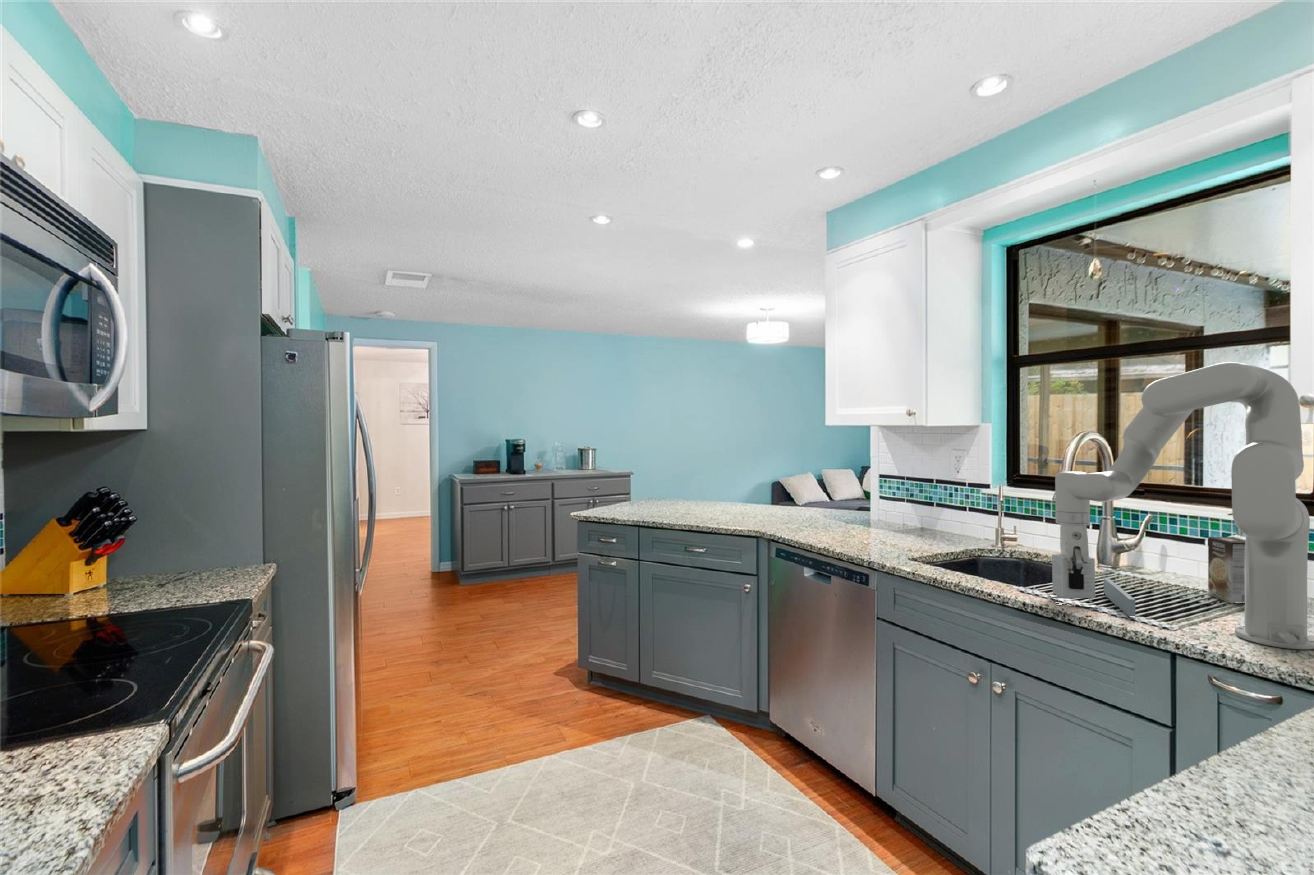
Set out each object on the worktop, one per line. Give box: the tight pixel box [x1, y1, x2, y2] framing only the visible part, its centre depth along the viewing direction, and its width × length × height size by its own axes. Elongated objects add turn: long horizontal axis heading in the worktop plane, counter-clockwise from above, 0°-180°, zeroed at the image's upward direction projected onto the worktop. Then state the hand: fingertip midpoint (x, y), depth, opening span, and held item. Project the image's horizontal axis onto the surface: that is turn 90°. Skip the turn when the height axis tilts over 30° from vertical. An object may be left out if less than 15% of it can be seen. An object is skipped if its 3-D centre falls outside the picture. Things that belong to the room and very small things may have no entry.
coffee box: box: [1207, 536, 1245, 604], centre depth 165 cm, size 9×6×16 cm
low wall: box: [1103, 577, 1136, 617], centre depth 160 cm, size 24×1×4 cm, turn 156°
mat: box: [1051, 595, 1093, 607], centre depth 164 cm, size 11×9×1 cm
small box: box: [1051, 553, 1096, 599], centre depth 164 cm, size 8×6×10 cm
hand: (1073, 585), depth 164 cm, fingers closed on small box, 6 cm apart
